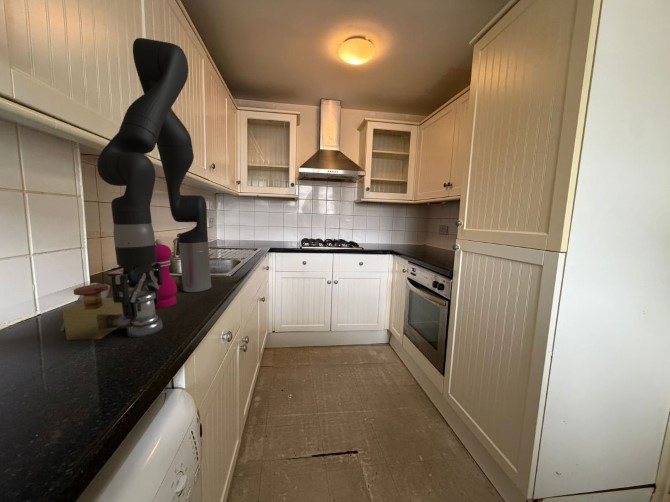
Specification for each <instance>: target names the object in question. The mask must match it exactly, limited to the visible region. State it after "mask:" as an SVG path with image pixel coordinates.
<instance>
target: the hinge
mask: <svg viewBox="0 0 670 502" xmlns="http://www.w3.org/2000/svg"><path fill="white" fill-rule="evenodd" d="M96 284H101V283H100V282H92V283H89V285H96ZM105 284H106V283H105ZM106 285H108V290H106V291H104V292H101V296H102V298H109V297H108V296H109V294H110V293H109V292H110V290H111V288H112V286H111V285H109V284H106ZM83 301H84V300H83V295H78V298H77V301H76V303H75V305H76V304H78V303H81V302H83ZM64 331H65V325H64V322H63V323H62V325H61V328H60V332H64Z"/></svg>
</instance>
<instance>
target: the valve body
mask: <svg viewBox="0 0 670 502" xmlns="http://www.w3.org/2000/svg"><path fill="white" fill-rule="evenodd" d="M108 285H109V284H107V285H106V283H103V284H102V283H100V284H96V285H90V284H88V285H84V286H79V287H76V288H74V289H73V295H75V296H80V295H83V300H84V301H83V302H81V303H78V304H76V303H75V304H74V305H73V304H72V306H68V307H66V308H64V309H61V312H62V319H63V323H64V325H65V330H64V331H65V336H66V341H71V340H72V341H74V340H81V341H82V340H101V339H103V338H104V337H106V336H107V335H109V334H110V333H112V332H114V331H115V330H117V329H126V335H127V336H128V337H131V338H140V337H147V336H151V335H154V334H156V333H157V332H160V331H161V330H162V329H163V321H162V318H161V317H160V316H158V321H157V322H156V323H154V324H152V325H149V326H144V327H133V326H132V322H131V320H132V319H126V318H125V316H124V311H123V304H122V303H114V301H113V297H107V298H102V296H101V292H104V291H106V290H108Z"/></svg>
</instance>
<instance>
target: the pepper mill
mask: <svg viewBox="0 0 670 502" xmlns="http://www.w3.org/2000/svg"><path fill="white" fill-rule="evenodd" d="M155 247H156V257H157V261H156V262H155V263H160V265H161V272H162V279H163V285H160V286H159V289H158V300H159V303H158V304H157V305H155V309H163V308H168V307H172V306H174V305H176V304H177V296H175V295H176V294H177V292H178V287H177V285H176V284H177V283H176V282H175V281H174V279H173V277H172V275H171V273H170V265H171V260H170V258H171V257H172V249H171V248H170V247H169V246H168V245H165V244H163V241H162V239H160V238H158V239H156V240H155ZM155 278H156V279H157V281H158V277H155Z"/></svg>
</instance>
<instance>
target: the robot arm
mask: <svg viewBox="0 0 670 502" xmlns="http://www.w3.org/2000/svg"><path fill="white" fill-rule="evenodd" d="M132 56H133V57H132V59H133V62H134V67H135V70H136V73H137V76H138V80H139V82H140V85H141V88H142V92H143V94H142V95H141V96H139V97H138V98H137V99H135V100H134V101H133V102H131V104H130V105H129V107H128V108H127V110H126V111H125V114H124V116H123V118H122V121H121V124H120V127H119V130H118V132H117V133H116V134H115V135H114V136H113V137H112V138H111V139H110V141H109V142H108V143H107V144H106V145H105V147H104V148H103V150H102V151H101V153H100V154H99V156H98V159H97V165H96V166H97V168H96V169H97V173H98V175H99V176H100V178H101V179H102V180H103V182H105V183H107V184H109V185H111V186H117V187H125V190H124V194H123V195H121V196H117V197H115V198H113V199H112V200H111V203H110V205H111V214H112V221H113V222H112V223H113V224H112V225H113V232H112V233H113V241H114V251H115V259H116V265H118V266H119V267H121V268H122V273H121V274H113V275H111V285H112V286H111V289H112V298H113V301H114V303H122V309H123V314H124V316H125V318H126V319H134V318H136V317H137V310H136V302H134V301H135V299H136V295H137V293H139V292H141V289H142V288H146V289H145V290H146V291H154V292H155V295H156V298H155V299H154V305H157V304H158V303H159V300H158V289H159V286H160V285H163V279H162V272H161V265H160V263H155V262H156V261H157V257H156V247H155V245H156V244H155V241H156V240H155V239H156V238H155V232H154V227H153V224H152V222H153V221H152V212H151V203H152V199H153V192H154V188H155V183H156V170H155V165H154V164H153V162H152V160H151V159H150V158H149V157H148V156H147V155H146V154H149V153H151V152H153V151H154V150H155V147H156V146H157V151H158V155H159V158H160V162H161V166H162V170H163V174H164V178H165V183H166V189H167V196H168V202H169V209H170V214H171V217H172V218H173V220H174V221H175V222H177V223H195V224H196V225H195V226H194V227H193V228H191V229H190V230H187V231H183V232H181V233H179V234H178V236H177V237H178V249H179V258H180V259H179V261H180V271H181V282H182V291H183V292H185V293H197V292H199V293H200V292H203V291H207V290H210V289H211V288H212V278H211V277H212V275H211V268H210V267H211V264H210V263H211V262H210V250H209V237H208V236H209V235H208V208H207V207H208V206H207V201H206V198H205V197H204V196H203V195H199V194H198V195H195V194H193V195H192V194H189V195H188V194H186V195H185V194H184V195H182V194H181V192H180V191H181V189H180V188H181V185H182V183H183V181H184V179H185V176H186V175H187V174H188V172H189V171H190V168H191V166H192V165H193V162H194V157H195V156H194V155H195V154H194V150H193V142H192V137H191V134H190V133H189V131H188V129H187V128H186V126H185V124H183V122H182V121H181V120H180V118H179V116H178V115H177V114H176V113H175V112H174V110H173V109H172V107H173V105H174V104H175V102H176V101H177V99H178V97H179V95H180V94H181V92H182V90H183V89H184V87H185V85H186V83H187V80H188V77H189V62H188V58H187V56H186V53H185V52H184V50H183V49H182V48H181V47H180V46H179V45H177V44H175V43H171V42H167V41H163V40H161V41H160V40H156V39H150V38H144V37H137V38H135V40H134V41H133V44H132ZM155 277H158V281H157V279H156V278H155ZM120 292H121V295H120ZM129 295H131V296H130V297H129Z"/></svg>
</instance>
